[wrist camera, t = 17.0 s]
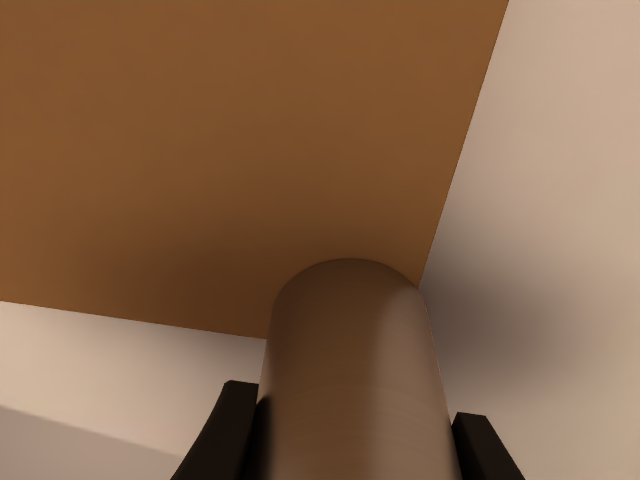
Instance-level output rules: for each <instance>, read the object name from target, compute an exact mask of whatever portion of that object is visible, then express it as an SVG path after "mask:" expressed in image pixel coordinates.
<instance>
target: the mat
mask: <svg viewBox="0 0 640 480" xmlns="http://www.w3.org/2000/svg"><path fill="white" fill-rule="evenodd" d="M508 2H509V0H0V301H5V302H12V303H19V304H26V305H33V306H40V307H47V308H54V309H60V310H67V311H74V312H81V313H88V314H95V315H102V316H109V317H115V318H122V319H129V320H136V321H143V322H150V323H157V324H163V325H170V326H177V327H184V328H191V329H198V330H205V331H212V332H218V333H225V334H232V335H239V336H246V337H253V338H260V339H267V336H268V330H269V324H270V319H271V313H272V309H273V305H274V302H275V300H276V297H277V296H278V294H279V293H280V291H281V290H282V288H283V287H284V286H285V285H286V284H287V283H288V282H289V281H290V280H291V279H292V278H293V277H294V276H296V275H297V274H299V273H300V272H302V271H303V270H305V269H307V268H309V267H311V266H314V265H316V264H319V263H322V262H326V261H331V260H337V259H361V260H368V261H372V262H376V263H379V264H382V265H385V266H387V267H389V268H391V269H394V270H395V271H397V272H398V273H400V274H402V275H403V276H404V277H405V278H407V279H408V280H409V281H410V282H411V283H412V284H413V285H414V286H415V287H416V289H418V286H419V283H420V280H421V277H422V273H423V270H424V267H425V264H426V261H427V258H428V254H429V251H430V248H431V245H432V242H433V239H434V235H435V232H436V229H437V226H438V223H439V220H440V217H441V213H442V210H443V207H444V204H445V201H446V198H447V194H448V191H449V188H450V185H451V182H452V179H453V175H454V172H455V169H456V166H457V163H458V160H459V156H460V153H461V150H462V147H463V144H464V141H465V138H466V134H467V131H468V128H469V125H470V122H471V119H472V115H473V112H474V109H475V106H476V103H477V100H478V96H479V93H480V90H481V87H482V84H483V81H484V77H485V74H486V71H487V68H488V65H489V62H490V59H491V55H492V52H493V49H494V46H495V43H496V40H497V36H498V33H499V30H500V27H501V24H502V21H503V17H504V14H505V11H506V8H507V5H508Z"/></svg>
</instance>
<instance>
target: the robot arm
mask: <svg viewBox="0 0 640 480" xmlns="http://www.w3.org/2000/svg"><path fill="white" fill-rule="evenodd" d="M258 389H259V384H255V383H248V382H241V381H234V380H229V381H228V382H226V383H224V386H223V389H222V391H221V394H220V396H219V398H218V400H217V402H216V404H215V407H214V409H213V410H212V412H211V414H210V416H209V418H208V420H207V422H206V423H205V425H204V427H203V429H202V430H201V432H200V434H199V436H198V437H197V439H196V441H195V442H194V444H193V445H192V447H191V448H190V450H189V452H188V453H187V455H186V456H185V458H184V460H183V461H182V463H181V464H180V466H179V467H178V469H177V470H176V472H175V474H174V475H173V476H172V478H171V479H170V480H242V476H243V471H244V466H245V461H246V457H247V452H248V448H249V444H250V438H251V432H252V426H253V421H254V415H255V409H256V403H257V396H258ZM451 427H452V431H453V436H454V441H455V446H456V450H457V455H458V460H459V464H460V469H461V474H462V478H463V480H525V478H524V476H523V475H522V473H521V472H520V470H519V469H518V467H517V465H516V464H515V462H514V461H513V459H512V457H511V456H510V454H509V453H508V451H507V449H506V448H505V446H504V445H503V443H502V441H501V440H500V438H499V437H498V435H497V433H496V432H495V430H494V428H493V427H492V425H491V424H490V422H489V420H488V419H487V418H486V416H484V415H476V414H469V413H462V412H457V414H456V416H455V419H454V421H453V423H452V426H451Z"/></svg>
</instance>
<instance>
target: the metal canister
mask: <svg viewBox="0 0 640 480" xmlns="http://www.w3.org/2000/svg"><path fill="white" fill-rule="evenodd" d="M242 480H463V478H462V474H461V469H460V464H459V460H458V455H457V450H456V446H455V441H454V436H453V431H452V427H451V422H450V417H449V413H448V408H447V403H446V398H445V394H444V389H443V384H442V380H441V375H440V370H439V365H438V361H437V356H436V351H435V347H434V342H433V337H432V332H431V328H430V323H429V318H428V314H427V309H426V306H425V303H424V300H423V298H422V296H421V295H420V293H419V292H418V290H417V289H416V287H415V286H414V285H413V284H412V283H411V282H410V281H409V280H408V279H407V278H405V277H404V276H403V275H402V274H400V273H398V272H397V271H395V270H394V269H391V268H389V267H387V266H385V265H382V264H379V263H376V262H372V261H368V260H361V259H337V260H331V261H326V262H322V263H319V264H316V265H314V266H311V267H309V268H307V269H305V270H303V271H302V272H300V273H299V274H297V275H296V276H294V277H293V278H292V279H291V280H290V281H289V282H288V283H287V284H286V285H285V286H284V287H283V288H282V290H281V291H280V293H279V294H278V296H277V297H276V300H275V302H274V305H273V309H272V313H271V319H270V324H269V330H268V336H267V341H266V347H265V352H264V358H263V364H262V369H261V375H260V381H259V389H258V396H257V403H256V409H255V415H254V421H253V426H252V432H251V438H250V444H249V448H248V452H247V457H246V461H245V466H244V471H243V476H242Z"/></svg>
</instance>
